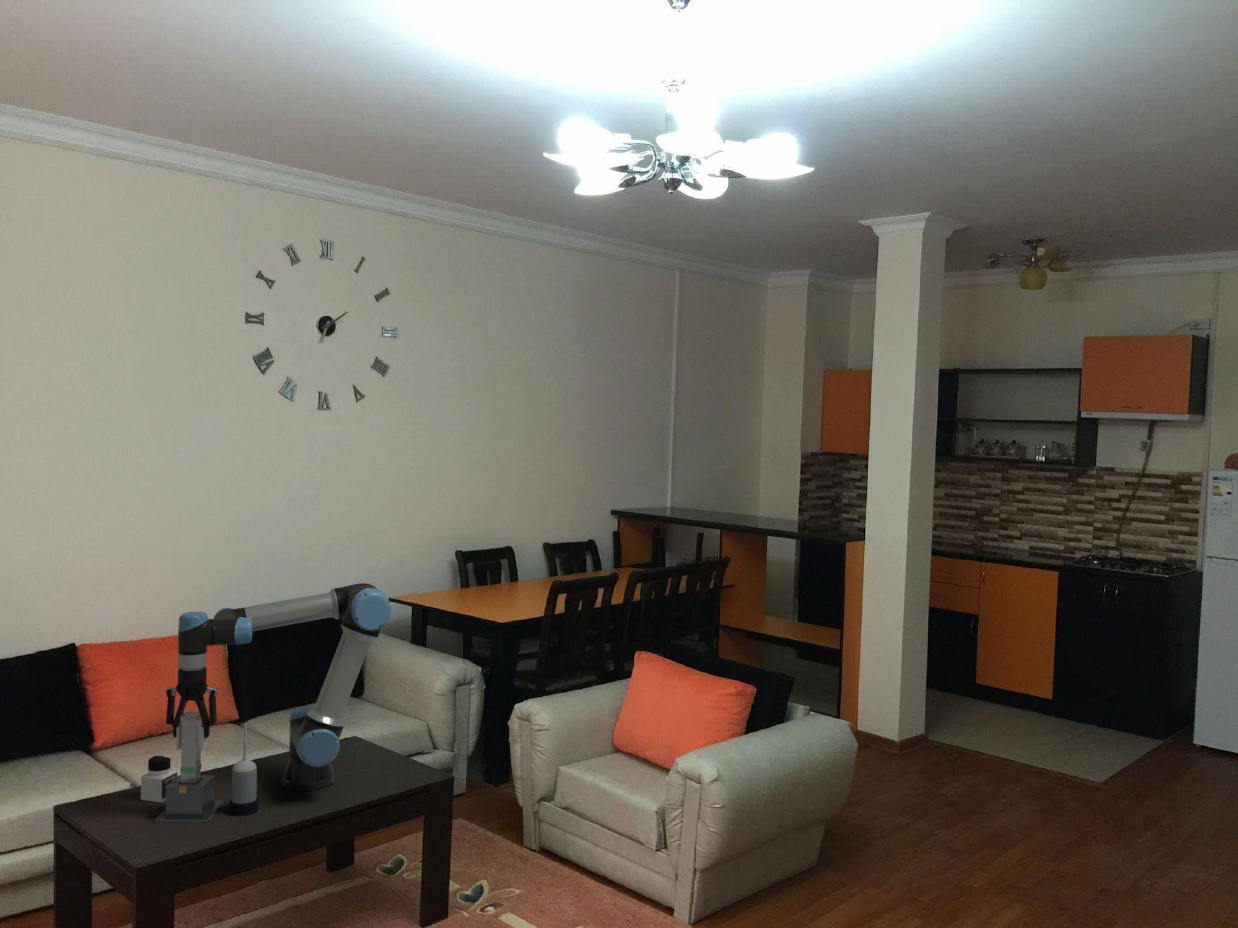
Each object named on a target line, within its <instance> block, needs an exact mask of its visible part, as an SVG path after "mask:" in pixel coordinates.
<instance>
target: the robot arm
mask: <svg viewBox="0 0 1238 928" xmlns="http://www.w3.org/2000/svg"><path fill="white" fill-rule="evenodd" d="M391 615H392V605H391V602H390V599H389V597H388V595H386V594H385V593H384V591H382V590H380V589H378V588H377V587H376V586H375V585H373V584H371V583H365V582H359V583H354V584H350V585H345V586H341V587H334V588H332V589H330V590H329V592H326V593H320V594H315V595H307V596H302V597H296V598H291V599H284V600H279V601H272V602H268V603H262V604H261V603H260V604H255V605H251V606H244V607H237V608H232V607H224V608H221V609H219V610H218V611H216V612H215V614H214V616H213V618H209V617H208V613H207V612H205V611H187V612H184V613H182V614H180V616H179V618H178V630H177V631H178V632H177V635H178V636H177V637H178V639H177V641H178V646H177V647H178V649H177V651H178V653H177V667H178V669H177V685H176V687H169V688H168V689H167V690H166V691H165V693H166V697H167V704H166V705H167V706H166V719H165V724H166V725H170V726H172V736H173V738H176V739H175V741H176V742H175V744H176V745H175V746H176V748H175V750H176V751H180V750H181V745H182V720H180V716H181V715H182V714H184V713H185V712H184V711H185V709H186V707H187V703H188V702H189V701H192V702H194V703H195V704H196V707H197V710H198V712H199V713H200V716H201V724H202V725H201V727H200V750H201V751H204V750H205V749H206V748H207V738H208V737H210V735H211V733H210V732H211V731H210V730H211V727H210V726H212V725H215V724H216V723H217V722H218V713H217V694H218V692H219V690H218V688H217V687H215V688H212V687H209V685H208V683H207V680H208V679H207V675H208V674H207V671H208V670H207V667H206V666H207V664H208V663H207V661H208V647H210V646H211V647H212V646H230V645H239V646H240V645H245V644H250V643H251V641H252V640H253V632H256V631H261V630H266V629H272V628H277V627H284V626H288V625H294V624H300V623H306V622H311V621H317V620H322V619H327V618H328V619H329V618H333V619H335V620H341V623H340V627H341V629H342V635H341V638H340V640H339V643H338V646H337V648H336V651H335V653H334V655H333V659H332V660H331V663H330V667H329V668H328V672H327V674H326V677H325V679H324V682H323V685H322V687H321V689H320V692H319V695H318V697H317V700H316V702H315V705H314V706H309V707H302V708H300V707H299V708H296V709H294V710H292V711H291V712H290V714H289V720H288V721H289V749H288V751H289V752H288V753H289V754H288V755H289V756H288V761H287V764H286V767H285V770H284V773H283V776H282V785H283V787H284V788H286V789H288V790H292V791H300V792H302V791H303V792H304V791H316V790H319V789H323V788H327V787H329V786H330V785H332V784H333V783H334V781H335V780H334V779H335V777H334V776H335V774H334V770H333V767H332V763H331V762H333V761H334V760H335V759H336V757H337V756H338V754H339V751H340V746H341V743H340V737H341V735H342V733H343V730H344V727H345V722H344V719H343V715H344V713H345V710H346V708H347V705H348V703H349V699H350V697H351V694H352V691H353V690H354V687H355V684H356V681H357V679H358V678H359V677H358V676H359V674H360V671H361V669H362V666H363V664H364V661H365V658H366V655H367V653H368V651H369V647H370V646H371V645H370V644H371V643H372V641H374V640H376V639H378V638H379V635H380V633H381V630H382V628H384V626H385V625H387V624H388V621H389V620H390V618H391ZM177 693H178V694H179V696H180V699H179V705H178V707H177V710H176V713H175V707H176V695H177ZM206 693H207V696H208V710H207V705H206V703H205V697H204V695H205V694H206ZM208 712H209V713H208Z"/></svg>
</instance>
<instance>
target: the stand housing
mask: <svg viewBox="0 0 1238 928" xmlns="http://www.w3.org/2000/svg"><path fill="white" fill-rule="evenodd" d="M215 780H216V777H215V775H214V774H213V775H211V774H206V775H205V774H202V775H201V774H200V782H199V783H198V784H197V785H190V784H181V774H178V775H177V777H176V778H175V779H174V780H173V781H172V782H171V783H170V784H169V785H168V786H167V787H166V801H165V809H164V810H163V811H162V812H161V813H160V814H159V815H158V816H157V817H156V818H155V820H154V821H155V823H208V822H209V821H210V820H211V819H212V818H213V816H214V815H215V814H216V813H217V812H218V811H219V809H220V808H221V807H222V806H223V805H224V803H225V802H224V800H215V783H216V782H215Z"/></svg>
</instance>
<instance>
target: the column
mask: <svg viewBox="0 0 1238 928" xmlns="http://www.w3.org/2000/svg"><path fill="white" fill-rule="evenodd" d="M180 720H181V724H182V745H181V749H180V750H181V756H180V757H181V761H180V770H179V772H180V773H179V774H180V775H181V784H190V785H197V784H198V783H199V782H200V775H201V771H202V770H201V769H202V762H201V757H202V755H201V754H202V750H200V727H202V720H201V716H200V713H199V711H189V710H187V711H185V712H183V714H182V715H181V716H180Z"/></svg>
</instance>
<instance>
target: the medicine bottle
mask: <svg viewBox="0 0 1238 928" xmlns="http://www.w3.org/2000/svg"><path fill="white" fill-rule="evenodd" d="M147 761H148V762H147V767H148V768H147V773H146V774H144V775H141V777H140V800H141V801H146V802H147V801H148V802H154V803H155V802H156V803H164V802H166V787H167V786H168V785H169V784H170V783H171V782H172V781H173V780H174V779H175V778H176V777H178V771H177V770H172V769H171V768H172V767H171V766H172V758H171V757H170V756H169V755H166V754H159V755H158V754H157V755H154V756H152V757H150V758H149V759H148V760H147Z"/></svg>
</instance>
